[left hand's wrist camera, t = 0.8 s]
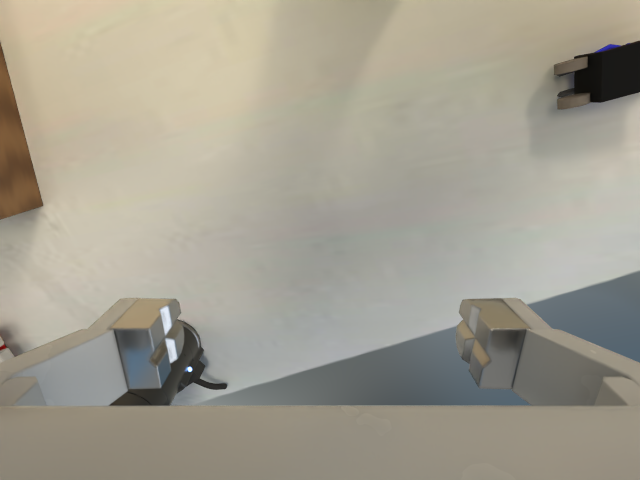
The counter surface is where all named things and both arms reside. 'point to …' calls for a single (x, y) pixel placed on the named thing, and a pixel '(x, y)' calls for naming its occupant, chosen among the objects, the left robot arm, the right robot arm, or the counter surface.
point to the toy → (4, 352)
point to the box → (14, 155)
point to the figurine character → (601, 75)
